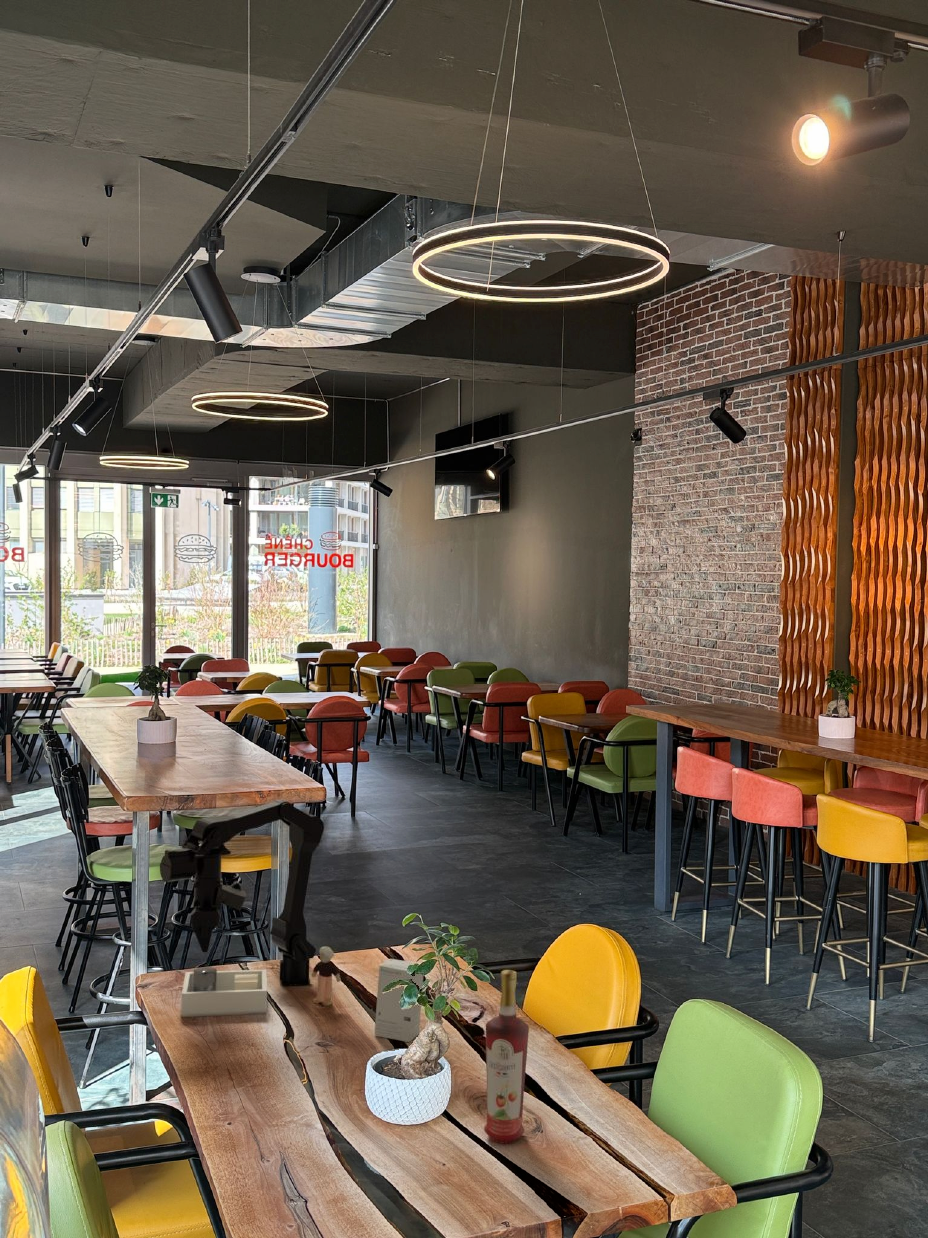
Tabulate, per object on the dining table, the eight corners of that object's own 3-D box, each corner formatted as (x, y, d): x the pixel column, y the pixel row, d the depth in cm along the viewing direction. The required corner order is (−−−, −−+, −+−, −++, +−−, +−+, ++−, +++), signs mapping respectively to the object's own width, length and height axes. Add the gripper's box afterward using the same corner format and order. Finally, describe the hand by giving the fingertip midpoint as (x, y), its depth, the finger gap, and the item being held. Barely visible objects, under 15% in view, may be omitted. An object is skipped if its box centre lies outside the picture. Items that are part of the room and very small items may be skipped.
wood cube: (234, 997, 245) (235, 975, 245) (256, 996, 246) (257, 974, 246) (233, 1005, 240) (234, 982, 240) (257, 1004, 241) (257, 981, 241)
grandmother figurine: (305, 1003, 244) (307, 947, 244) (312, 998, 248) (314, 942, 247) (337, 1008, 242) (338, 951, 242) (344, 1002, 245) (345, 946, 245)
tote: (265, 991, 251) (266, 969, 251) (266, 1013, 237) (266, 990, 237) (185, 994, 248) (185, 972, 248) (181, 1017, 234) (181, 994, 234)
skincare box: (374, 1037, 226) (376, 965, 226) (385, 1026, 232) (387, 957, 232) (411, 1043, 223) (413, 971, 223) (422, 1033, 229) (424, 962, 229)
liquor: (529, 1131, 187) (534, 968, 187) (519, 1151, 180) (524, 982, 180) (488, 1124, 189) (493, 963, 189) (477, 1143, 182) (482, 976, 182)
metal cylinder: (193, 998, 244) (194, 967, 243) (216, 998, 244) (217, 966, 244) (192, 1006, 239) (193, 975, 239) (215, 1006, 240) (216, 974, 240)
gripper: (244, 886, 236) (242, 958, 236) (245, 865, 254) (243, 932, 254) (191, 887, 233) (189, 959, 234) (195, 866, 252) (194, 933, 252)
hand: (206, 945), depth 243 cm, fingers open, 9 cm apart
